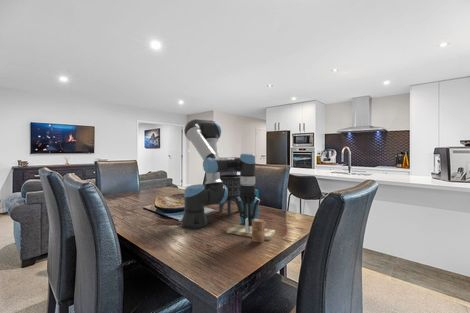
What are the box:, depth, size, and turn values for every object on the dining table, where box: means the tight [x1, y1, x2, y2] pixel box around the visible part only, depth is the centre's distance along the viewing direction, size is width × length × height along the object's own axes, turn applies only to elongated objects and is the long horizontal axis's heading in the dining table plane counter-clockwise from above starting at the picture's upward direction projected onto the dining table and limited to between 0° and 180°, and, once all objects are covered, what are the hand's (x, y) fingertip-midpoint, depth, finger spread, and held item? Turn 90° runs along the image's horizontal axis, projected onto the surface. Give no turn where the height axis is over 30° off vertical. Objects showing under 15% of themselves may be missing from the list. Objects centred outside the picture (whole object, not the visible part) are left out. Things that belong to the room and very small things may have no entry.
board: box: [226, 223, 276, 241], centre depth 121 cm, size 24×10×2 cm, turn 65°
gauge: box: [251, 218, 267, 244], centre depth 113 cm, size 5×12×10 cm, turn 155°
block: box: [239, 188, 260, 225], centre depth 137 cm, size 12×5×20 cm, turn 125°
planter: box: [218, 174, 241, 217], centre depth 160 cm, size 20×20×26 cm
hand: (247, 231), depth 113 cm, fingers closed
